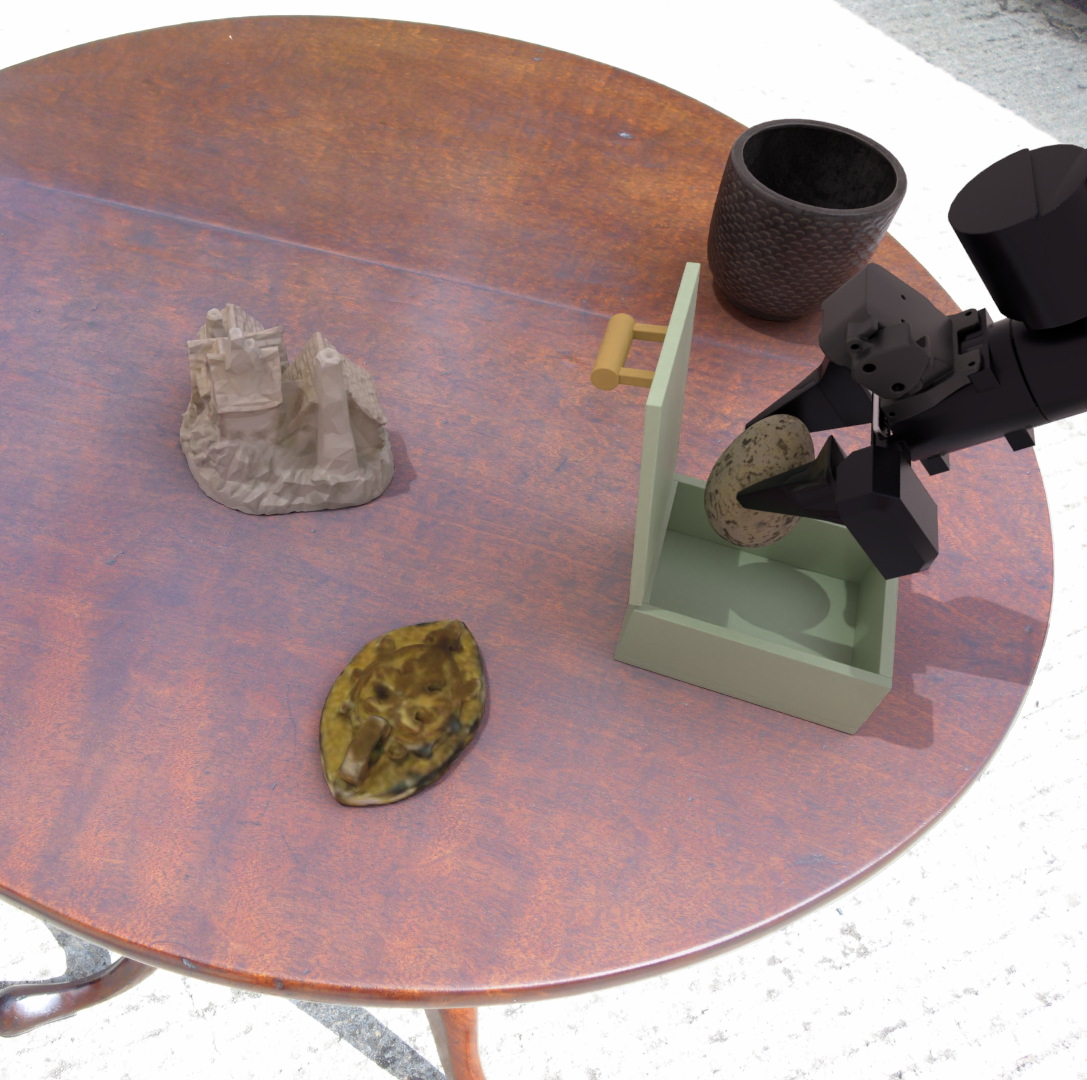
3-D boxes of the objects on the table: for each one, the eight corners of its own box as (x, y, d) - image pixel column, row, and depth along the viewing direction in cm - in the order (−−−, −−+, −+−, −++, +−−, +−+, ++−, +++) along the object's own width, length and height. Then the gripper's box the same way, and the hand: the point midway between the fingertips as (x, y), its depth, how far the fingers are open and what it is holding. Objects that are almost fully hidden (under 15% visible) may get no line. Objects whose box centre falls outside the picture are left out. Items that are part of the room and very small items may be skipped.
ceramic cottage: (396, 515, 78) (400, 349, 66) (170, 519, 78) (136, 353, 66) (390, 378, 88) (392, 215, 77) (191, 381, 88) (164, 218, 77)
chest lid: (700, 262, 61) (623, 255, 63) (661, 406, 54) (574, 394, 55) (676, 466, 73) (612, 456, 75) (641, 606, 66) (570, 593, 67)
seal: (394, 608, 74) (280, 780, 66) (391, 564, 71) (270, 739, 62) (519, 657, 71) (416, 845, 62) (522, 613, 67) (413, 806, 59)
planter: (879, 318, 94) (947, 189, 84) (757, 363, 90) (812, 233, 80) (774, 230, 102) (825, 102, 91) (656, 269, 97) (695, 139, 87)
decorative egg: (671, 525, 69) (714, 414, 61) (731, 483, 71) (780, 371, 63) (745, 584, 66) (800, 476, 58) (804, 538, 68) (865, 428, 60)
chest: (866, 586, 75) (901, 535, 71) (853, 735, 68) (892, 689, 63) (648, 523, 78) (668, 470, 74) (613, 659, 71) (633, 609, 66)
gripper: (959, 147, 56) (691, 276, 66) (973, 380, 45) (648, 491, 55) (1041, 300, 61) (779, 397, 71) (1072, 544, 49) (756, 617, 60)
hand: (743, 465), depth 64 cm, fingers closed on decorative egg, 5 cm apart
